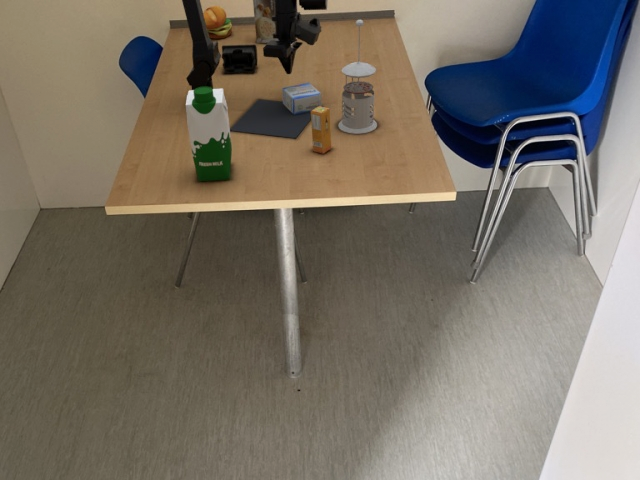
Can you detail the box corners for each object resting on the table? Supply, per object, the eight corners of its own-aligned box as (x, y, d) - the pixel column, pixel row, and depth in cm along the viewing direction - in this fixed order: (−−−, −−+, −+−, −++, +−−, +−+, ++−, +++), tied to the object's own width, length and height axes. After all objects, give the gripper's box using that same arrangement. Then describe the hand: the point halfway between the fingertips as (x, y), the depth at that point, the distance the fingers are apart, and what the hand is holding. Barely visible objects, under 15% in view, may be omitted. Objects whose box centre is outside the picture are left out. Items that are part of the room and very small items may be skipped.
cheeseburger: (240, 31, 229) (233, 2, 221) (223, 48, 224) (215, 20, 216) (216, 27, 233) (208, -2, 225) (198, 44, 228) (190, 15, 220)
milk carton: (194, 183, 152) (180, 96, 138) (197, 164, 158) (184, 79, 145) (233, 181, 151) (223, 93, 138) (234, 162, 158) (225, 76, 145)
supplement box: (320, 145, 163) (319, 105, 156) (331, 149, 161) (331, 108, 154) (311, 150, 161) (310, 110, 154) (323, 154, 159) (322, 113, 152)
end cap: (258, 64, 205) (256, 41, 201) (256, 73, 200) (254, 49, 195) (225, 65, 206) (223, 42, 201) (222, 74, 201) (219, 50, 196)
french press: (345, 136, 166) (346, 29, 149) (330, 117, 174) (329, 14, 158) (383, 129, 167) (387, 23, 151) (366, 111, 176) (369, 8, 159)
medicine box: (309, 82, 181) (321, 93, 175) (309, 98, 184) (322, 109, 178) (281, 87, 179) (293, 98, 173) (282, 104, 182) (294, 115, 176)
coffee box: (288, 37, 222) (285, -16, 211) (282, 44, 217) (279, -10, 207) (261, 36, 224) (258, -17, 214) (255, 43, 220) (251, -11, 209)
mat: (295, 138, 166) (295, 137, 166) (229, 130, 171) (228, 130, 171) (321, 106, 180) (321, 105, 180) (258, 99, 185) (258, 99, 185)
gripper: (304, 24, 158) (306, 90, 169) (328, 0, 171) (329, 63, 182) (260, 21, 162) (264, 86, 172) (287, -2, 175) (290, 60, 185)
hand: (289, 73), depth 178 cm, fingers closed
